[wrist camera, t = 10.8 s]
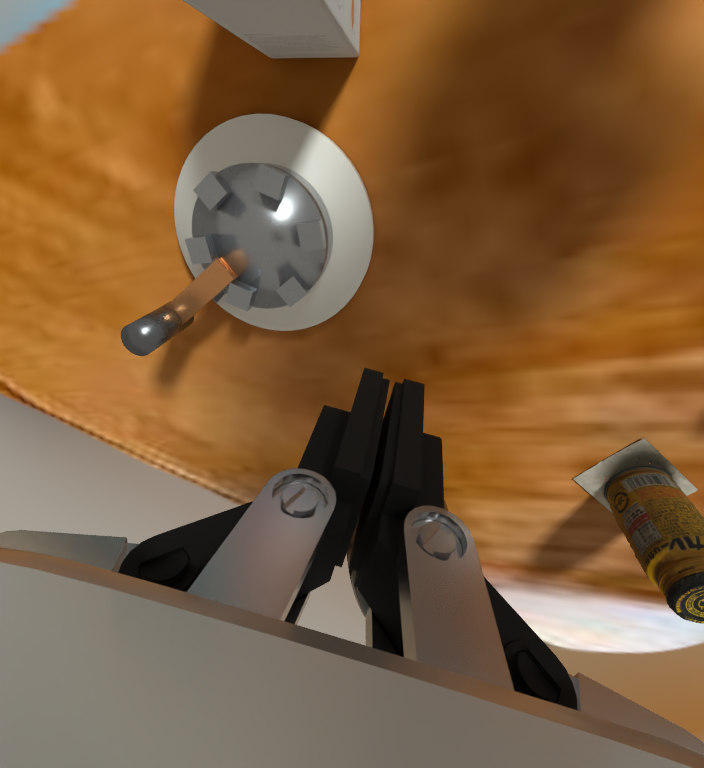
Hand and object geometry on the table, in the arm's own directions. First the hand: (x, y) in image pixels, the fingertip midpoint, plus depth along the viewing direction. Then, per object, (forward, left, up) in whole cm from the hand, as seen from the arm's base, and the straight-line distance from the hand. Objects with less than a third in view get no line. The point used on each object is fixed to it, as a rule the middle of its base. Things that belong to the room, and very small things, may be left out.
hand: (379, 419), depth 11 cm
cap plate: (0, -11, -24) cm, 27 cm away
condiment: (+19, +25, -25) cm, 40 cm away
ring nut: (+2, -13, -23) cm, 26 cm away
